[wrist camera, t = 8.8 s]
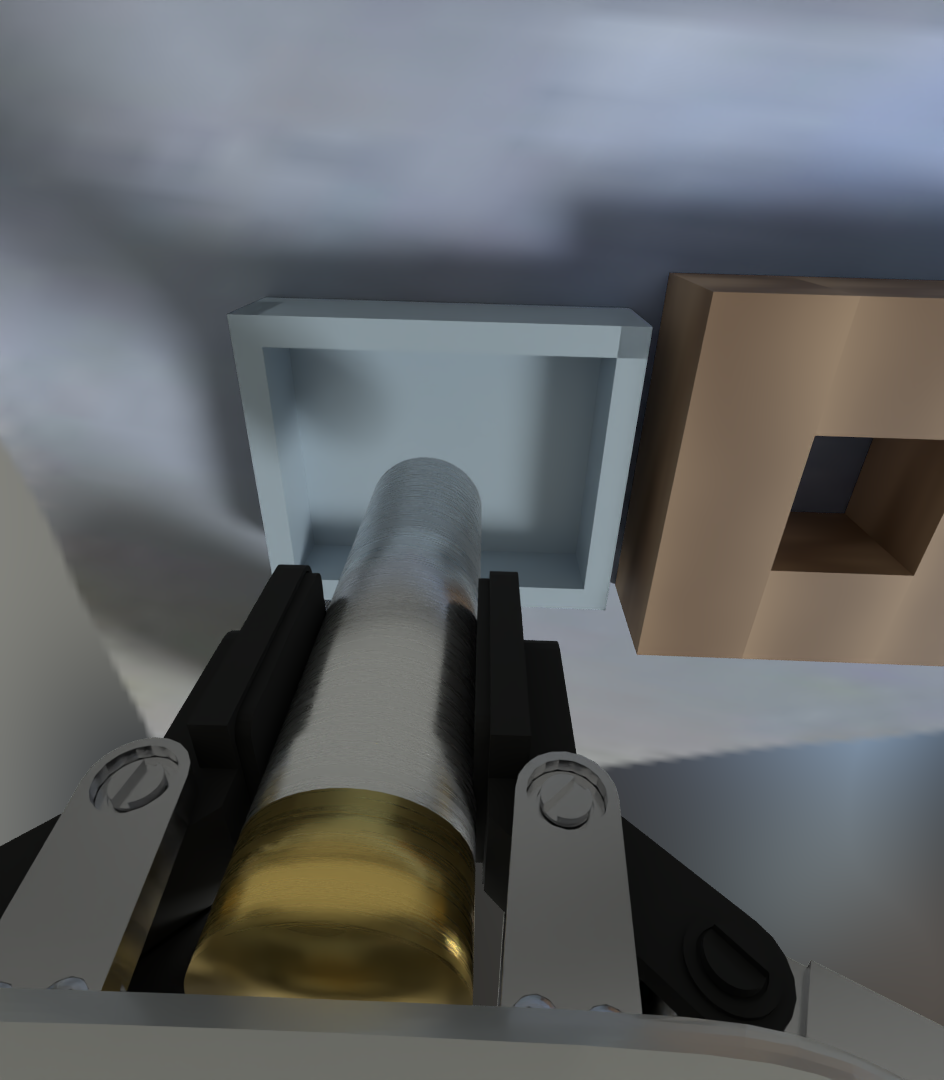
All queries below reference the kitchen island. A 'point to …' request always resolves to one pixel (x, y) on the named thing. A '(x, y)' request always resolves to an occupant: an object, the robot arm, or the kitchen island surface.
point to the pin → (369, 777)
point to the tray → (446, 426)
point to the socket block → (789, 473)
